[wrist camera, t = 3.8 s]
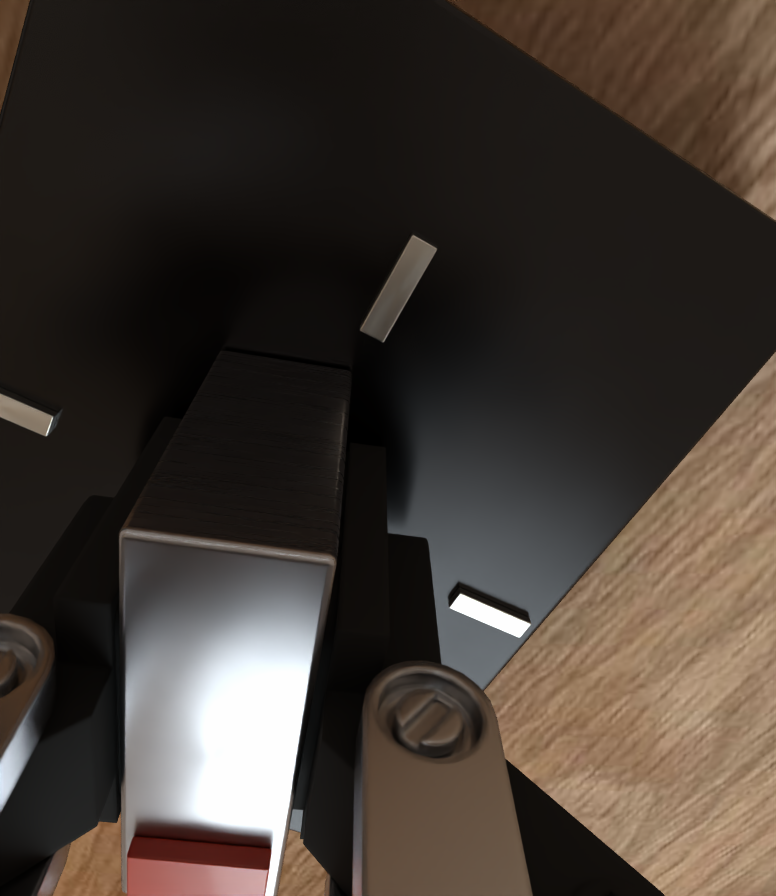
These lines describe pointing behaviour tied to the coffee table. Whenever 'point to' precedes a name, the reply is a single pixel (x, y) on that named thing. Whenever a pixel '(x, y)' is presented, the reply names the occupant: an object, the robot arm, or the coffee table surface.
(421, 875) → the robot arm
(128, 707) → the hob knob
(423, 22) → the black square plate
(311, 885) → the coffee table surface
